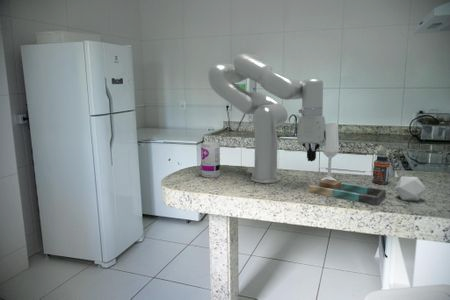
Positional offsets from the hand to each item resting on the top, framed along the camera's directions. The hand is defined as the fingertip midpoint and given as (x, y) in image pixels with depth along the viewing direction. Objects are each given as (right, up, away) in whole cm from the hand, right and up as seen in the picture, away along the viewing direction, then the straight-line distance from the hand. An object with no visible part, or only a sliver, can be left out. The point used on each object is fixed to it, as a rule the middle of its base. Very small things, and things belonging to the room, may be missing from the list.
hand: (311, 160), depth 126 cm
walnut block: (+6, -12, -3) cm, 14 cm away
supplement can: (-40, -8, +21) cm, 46 cm away
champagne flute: (+11, -9, +13) cm, 19 cm away
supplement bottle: (+30, -10, +9) cm, 33 cm away
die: (+31, -13, -12) cm, 36 cm away
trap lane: (+11, -12, -6) cm, 18 cm away
